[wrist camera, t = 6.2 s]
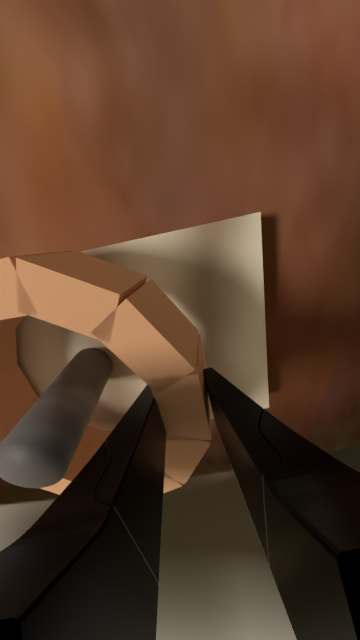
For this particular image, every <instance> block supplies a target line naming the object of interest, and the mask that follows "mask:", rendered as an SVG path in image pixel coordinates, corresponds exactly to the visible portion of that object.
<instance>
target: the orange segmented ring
mask: <svg viewBox="0 0 360 640" xmlns="http://www.w3.org/2000/svg"><path fill="white" fill-rule="evenodd" d="M146 279H147V276H146V275H143V274H140V273H138V272H135V271H132V270H129V269H126V268H124V267H121V266H118V265H115V264H113V263H110V262H107V261H104V260H101V259H99V258H96V257H93V256H90V255H87V254H85V253H82V252H79V251H65V252H55V253H44V254H34V255H24V256H14V257H7V258H3V259H0V443H1V442H2V441H3V440H4V439H5V437H6V436H7V435H8V434H9V433H10V432H11V430H12V429H13V428H14V427H15V426H16V424H17V423H18V422H19V421H20V420H21V419H22V417H23V416H24V415H25V414H26V413H27V412H28V410H29V409H30V408H31V407H32V406H33V405H34V403H35V402H36V401H37V400H38V399H39V396H37V395H36V393H35V392H34V390H33V388H32V387H31V385H30V383H29V382H28V380H27V379H26V377H25V375H24V374H23V372H22V370H21V369H20V367H19V365H18V364H17V350H16V327H17V326H18V324H19V323H20V322H21V321H22V319H23V318H24V317H25V316H27V315H29V316H32V317H35V318H38V319H41V320H44V321H46V322H49V323H52V324H55V325H58V326H61V327H64V328H66V329H69V330H72V331H75V332H78V333H81V334H84V335H86V336H89V337H92V338H95V339H98V340H100V341H101V342H102V343H103V344H104V345H105V346H106V347H107V348H108V349H110V350H111V351H112V352H113V353H114V354H115V355H116V356H117V357H118V358H119V359H120V360H121V361H122V362H124V363H125V364H126V365H127V366H128V367H129V368H130V369H131V370H132V371H133V372H134V373H135V374H137V375H138V376H139V377H140V378H141V379H142V380H143V381H144V382H145V383H146V384H147V385H148V386H150V387H151V391H152V394H153V397H154V398H155V399H156V402H157V405H158V408H159V411H160V414H161V417H162V420H163V424H164V427H165V430H166V433H167V434H166V453H165V472H164V491H163V493H165V492H168V491H171V490H173V489H176V488H179V487H181V486H182V485H183V484H185V483H186V482H187V480H188V479H189V477H190V475H191V474H192V472H193V471H194V469H195V468H196V466H197V464H198V463H199V461H200V460H201V458H202V457H203V455H204V453H205V452H206V450H207V449H208V447H209V445H210V444H211V410H210V400H209V396H208V392H207V386H206V381H205V376H204V369H205V368H206V363H205V358H204V352H203V347H202V342H201V336H200V334H198V330H197V328H196V327H195V326H194V325H193V324H192V323H191V322H190V321H189V320H188V319H187V317H186V316H185V315H184V314H183V313H182V312H181V311H180V310H179V309H178V307H177V306H176V305H175V304H174V303H173V302H172V301H171V300H170V299H169V297H168V296H167V295H166V294H165V293H164V292H163V291H162V290H161V289H160V288H159V286H158V285H157V284H156V283H155V282H154V281H153V280H152V279H151V280H150V281H148V282H147V283H146ZM145 283H146V284H145ZM111 432H112V430H100V429H97V428H94V427H91V426H88V425H87V427H86V429H85V432H84V434H83V436H82V438H81V441H80V443H79V445H78V447H77V449H76V452H75V454H74V456H73V458H72V460H71V463H70V465H69V467H68V469H67V471H66V474H65V476H64V477H63V478H62V480H60V481H59V482H58V483H56V484H54V485H51V486H48V487H43V488H41V489H44V490H47V491H50V492H53V493H56V494H59V495H60V494H61V493H62V492H63V491H64V489H65V488H66V487H67V486H68V485H69V484H70V483H71V481H72V480H73V479H74V478H75V477H76V476H77V474H78V473H79V472H80V471H81V470H82V469H83V467H84V466H85V465H86V464H87V463H88V461H89V460H90V459H91V458H92V456H93V455H94V454H95V453H96V451H97V450H98V449H99V447H100V446H101V445H102V443H103V442H104V441H106V438H107V437H108V436H109V434H110V433H111Z"/></svg>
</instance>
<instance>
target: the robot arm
mask: <svg viewBox="0 0 360 640" xmlns="http://www.w3.org/2000/svg"><path fill="white" fill-rule="evenodd" d="M204 376H205V381H206V386H207V392H208V396H209V400H210V404H211V408H212V412H213V416H214V419H215V422H216V425H217V428H218V430H219V433H220V436H221V438H222V441H223V444H224V446H225V449H226V452H227V454H228V457H229V460H230V462H231V465H232V468H233V470H234V473H235V476H236V478H237V481H238V484H239V486H240V489H241V492H242V494H243V497H244V500H245V502H246V505H247V508H248V510H249V513H250V516H251V518H252V521H253V524H254V526H255V529H256V532H257V534H258V537H259V540H260V542H261V545H262V548H263V550H264V553H265V556H266V558H267V561H268V563H269V566H270V569H271V572H272V575H273V577H274V580H275V583H276V585H277V588H278V591H279V593H280V596H281V599H282V601H283V604H284V606H285V609H286V612H287V614H288V617H289V620H290V623H291V625H292V628H293V631H294V633H295V636H296V639H297V640H360V472H358V471H356V470H354V469H352V468H350V467H349V466H347V465H345V464H344V463H342V462H340V461H339V460H337V459H336V458H334V457H333V456H331V455H330V454H328V453H327V452H325V451H323V450H322V449H320V448H319V447H317V446H316V445H314V444H313V443H311V442H310V441H308V440H307V439H305V438H303V437H302V436H300V435H299V434H297V433H296V432H295V431H293V430H292V429H290V428H289V427H287V426H286V425H284V424H283V423H282V422H280V421H279V420H278V419H276V418H275V417H274V416H272V415H271V414H270V413H269V412H267V411H266V410H265V409H264V410H263V408H262V407H261V406H260V405H258V404H257V403H256V402H255V401H253V400H252V399H251V398H250V397H248V396H247V395H246V394H245V393H243V392H242V391H241V390H240V389H238V388H237V387H236V386H235V385H233V384H232V383H231V382H230V381H228V380H227V379H226V378H225V377H223V376H222V375H221V374H220V373H218V372H217V371H216V370H214V369H213V368H212V367H210V368H205V369H204ZM166 434H167V433H166V430H165V427H164V424H163V420H162V417H161V414H160V411H159V408H158V405H157V402H156V399H155V398H154V397H153V394H152V391H151V387H150V386H148V385H146V387H145V388H144V389H143V391H142V392H141V393H140V395H139V396H138V397H137V399H136V400H135V401H134V403H133V404H132V405H131V407H130V408H129V409H128V410H127V412H126V413H125V414H124V416H123V417H122V418H121V420H120V421H119V422H118V424H117V425H116V426H115V428H114V429H113V430H112V432H111V433H110V434H109V436H108V437H107V438H106V441H104V442H103V443H102V445H101V446H100V447H99V449H98V450H97V451H96V453H95V454H94V455H93V456H92V458H91V459H90V460H89V461H88V463H87V464H86V465H85V466H84V467H83V469H82V470H81V471H80V472H79V473H78V474H77V476H76V477H75V478H74V479H73V480H72V481H71V483H70V484H69V485H68V486H67V487H66V488H65V489H64V491H63V492H62V493H61V494H60V495H59V496H58V497H57V498H56V500H55V501H54V502H53V503H52V504H51V505H50V506H49V508H48V509H47V510H46V511H45V512H44V513H43V515H42V516H41V517H40V518H39V519H38V520H37V521H36V522H35V524H33V525H32V527H31V528H30V529H28V530H27V531H26V532H25V534H23V535H22V536H21V537H20V538H19V539H17V540H16V541H15V542H14V543H12V544H11V545H10V546H8V547H7V548H5V549H4V550H2V551H1V552H0V640H156V624H157V604H158V582H159V566H160V546H161V527H162V510H163V491H164V472H165V453H166Z"/></svg>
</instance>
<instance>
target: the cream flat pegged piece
mask: <svg viewBox="0 0 360 640" xmlns="http://www.w3.org/2000/svg"><path fill="white" fill-rule="evenodd" d="M81 252H82V253H85V254H87V255H90V256H93V257H96V258H99V259H101V260H104V261H107V262H110V263H113V264H115V265H118V266H121V267H124V268H126V269H129V270H132V271H135V272H138V273H140V274H143V275H146V276H147V279H146V283H147V282H148V281H150V280H151V279H152V280H153V281H154V282H155V283H156V284H157V285H158V286H159V288H160V289H161V290H162V291H163V292H164V293H165V294H166V295H167V296H168V297H169V299H170V300H171V301H172V302H173V303H174V304H175V305H176V306H177V307H178V309H179V310H180V311H181V312H182V313H183V314H184V315H185V316H186V317H187V319H188V320H189V321H190V322H191V323H192V324H193V325H194V326H195V327H196V328H197V330H198V334H200V336H201V342H202V347H203V352H204V358H205V363H206V368H210V367H212V368H213V369H214V370H216V371H217V372H218V373H220V374H221V375H222V376H223V377H225V378H226V379H227V380H228V381H230V382H231V383H232V384H233V385H235V386H236V387H237V388H238V389H240V390H241V391H242V392H243V393H245V394H246V395H247V396H248V397H250V398H251V399H252V400H253V401H255V402H256V403H257V404H258V405H260V406H261V407H262V408H263V409H264V408H269V394H268V371H267V347H266V324H265V301H264V278H263V255H262V232H261V212H258V213H254V214H249V215H245V216H240V217H235V218H231V219H226V220H222V221H217V222H213V223H208V224H204V225H199V226H195V227H190V228H186V229H181V230H177V231H172V232H167V233H163V234H158V235H154V236H149V237H145V238H140V239H136V240H131V241H127V242H122V243H118V244H113V245H108V246H104V247H99V248H95V249H90V250H86V251H81ZM146 283H145V284H146ZM16 350H17V364H18V365H19V367H20V369H21V370H22V372H23V374H24V375H25V377H26V379H27V380H28V382H29V383H30V385H31V387H32V388H33V390H34V392H35V393H36V395H37V396H39V399H38V400H37V401H36V402H35V403H34V405H33V406H32V407H31V408H30V409H29V410H28V412H27V413H26V414H25V415H24V416H23V417H22V419H21V420H20V421H19V422H18V423H17V424H16V426H15V427H14V428H13V429H12V430H11V432H10V433H9V434H8V435H7V436H6V437H5V439H4V440H3V441H2V442H1V443H0V477H1V478H2V479H4V480H5V481H7V482H9V483H11V484H14V485H17V486H21V487H26V488H43V487H48V486H51V485H54V484H56V483H58V482H59V481H60V480H62V478H63V477H64V476H65V474H66V471H67V469H68V467H69V465H70V463H71V460H72V458H73V456H74V454H75V452H76V449H77V447H78V445H79V443H80V441H81V438H82V436H83V434H84V432H85V429H86V427H87V425H88V426H91V427H94V428H97V429H100V430H113V429H114V428H115V426H116V425H117V424H118V422H119V421H120V420H121V418H122V417H123V416H124V414H125V413H126V412H127V410H128V409H129V408H130V407H131V405H132V404H133V403H134V401H135V400H136V399H137V397H138V396H139V395H140V393H141V392H142V391H143V389H144V388H145V387H146V385H147V384H146V383H145V382H144V381H143V380H142V379H141V378H140V377H139V376H138V375H137V374H135V373H134V372H133V371H132V370H131V369H130V368H129V367H128V366H127V365H126V364H125V363H124V362H122V361H121V360H120V359H119V358H118V357H117V356H116V355H115V354H114V353H113V352H112V351H111V350H110V349H108V348H107V347H106V346H105V345H104V344H103V343H102V342H101V341H100V340H98V339H95V338H92V337H89V336H86V335H84V334H81V333H78V332H75V331H72V330H69V329H66V328H64V327H61V326H58V325H55V324H52V323H49V322H46V321H44V320H41V319H38V318H35V317H32V316H29V315H27V316H25V317H24V318H23V319H22V321H21V322H20V323H19V324H18V326H17V327H16ZM210 410H211V419H213V418H214V416H213V412H212V408H211V404H210Z"/></svg>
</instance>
